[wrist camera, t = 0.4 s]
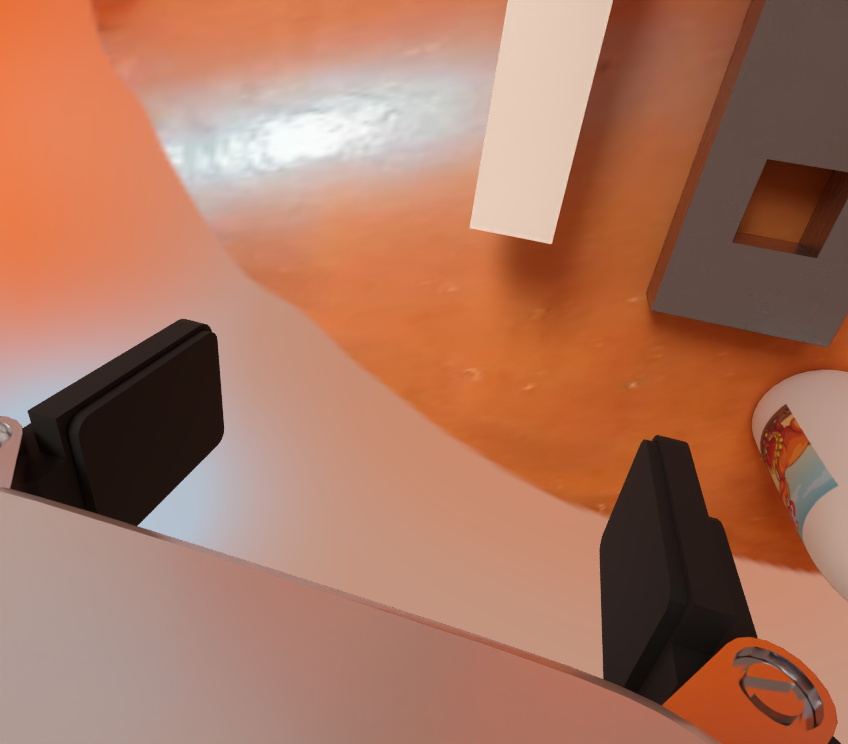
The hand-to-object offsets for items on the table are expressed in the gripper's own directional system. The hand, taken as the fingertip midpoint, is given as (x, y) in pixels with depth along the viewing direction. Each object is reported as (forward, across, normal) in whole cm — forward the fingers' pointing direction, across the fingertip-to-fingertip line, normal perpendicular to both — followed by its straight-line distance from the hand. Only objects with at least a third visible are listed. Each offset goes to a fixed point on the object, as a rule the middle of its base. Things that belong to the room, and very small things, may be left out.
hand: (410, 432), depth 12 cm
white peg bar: (+27, 0, -8) cm, 28 cm away
